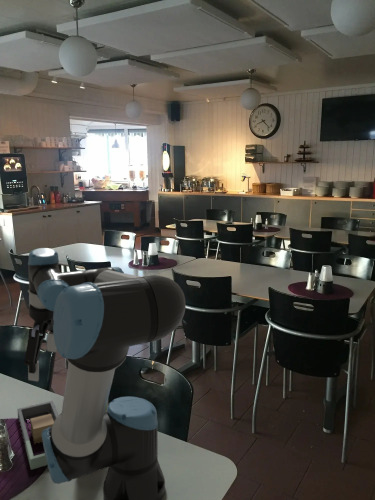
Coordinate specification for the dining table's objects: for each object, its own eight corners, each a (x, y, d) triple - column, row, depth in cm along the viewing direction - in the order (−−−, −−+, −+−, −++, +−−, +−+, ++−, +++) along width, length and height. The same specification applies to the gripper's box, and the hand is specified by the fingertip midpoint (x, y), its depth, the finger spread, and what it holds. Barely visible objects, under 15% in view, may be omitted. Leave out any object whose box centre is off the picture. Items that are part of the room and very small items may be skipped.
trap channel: (72, 457, 118) (72, 447, 117) (30, 469, 113) (30, 459, 112) (53, 408, 142) (52, 400, 142) (18, 417, 137) (17, 408, 136)
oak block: (55, 439, 126) (54, 423, 125) (34, 444, 123) (33, 429, 122) (51, 428, 131) (50, 413, 130) (31, 433, 129) (30, 418, 128)
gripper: (47, 280, 129) (47, 338, 137) (8, 324, 106) (11, 391, 114) (71, 284, 129) (70, 342, 137) (38, 329, 106) (38, 396, 114)
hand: (43, 364), depth 125 cm, fingers open, 13 cm apart
